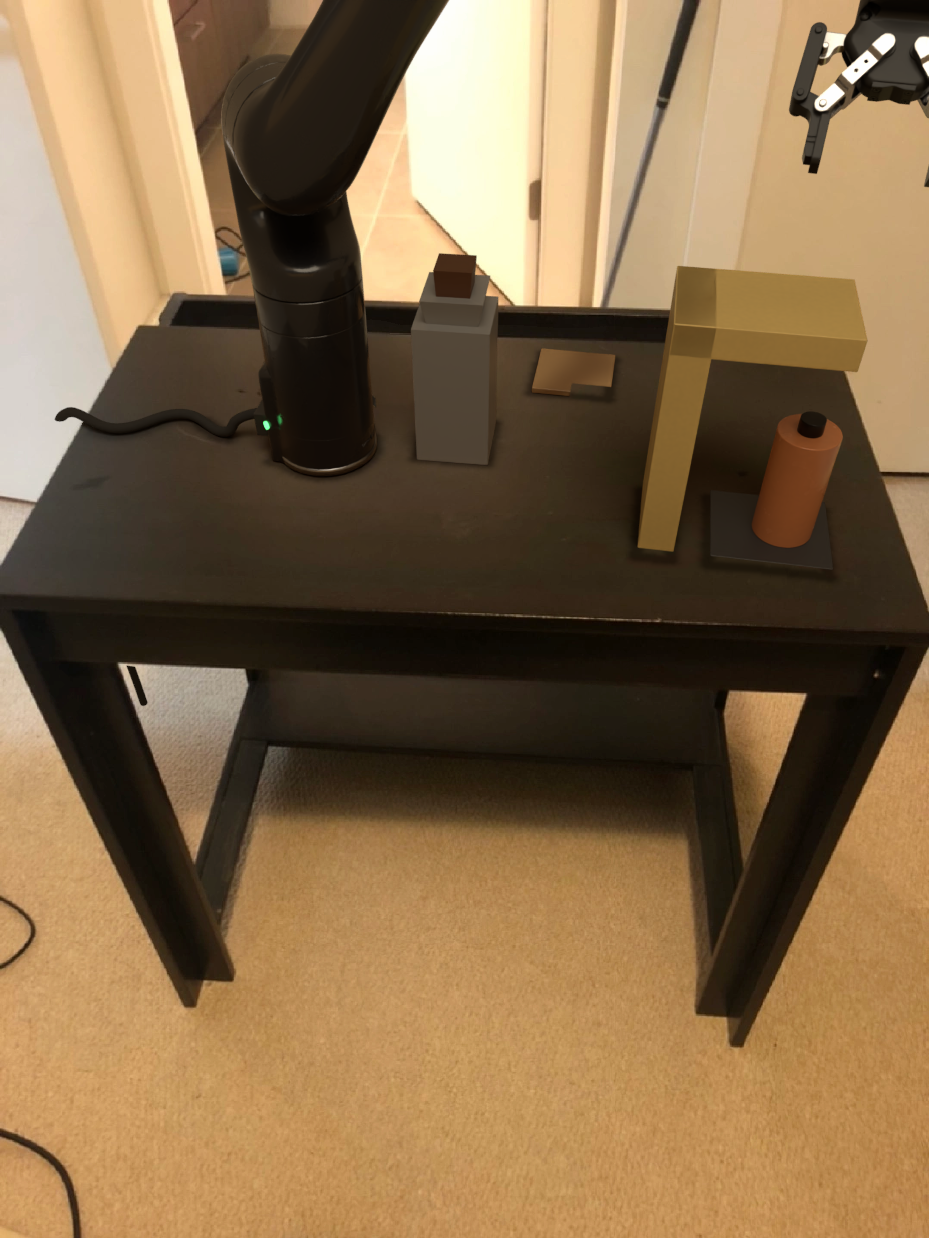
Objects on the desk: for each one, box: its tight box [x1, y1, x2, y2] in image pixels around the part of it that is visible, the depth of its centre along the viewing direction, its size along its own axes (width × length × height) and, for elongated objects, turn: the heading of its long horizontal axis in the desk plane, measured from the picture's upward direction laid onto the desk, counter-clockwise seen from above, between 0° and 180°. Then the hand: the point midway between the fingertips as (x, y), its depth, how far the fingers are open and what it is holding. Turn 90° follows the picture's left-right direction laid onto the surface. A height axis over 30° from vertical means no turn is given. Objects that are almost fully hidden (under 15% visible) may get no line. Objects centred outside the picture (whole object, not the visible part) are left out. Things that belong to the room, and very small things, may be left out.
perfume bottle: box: [410, 252, 499, 466], centre depth 89 cm, size 7×7×18 cm
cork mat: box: [531, 348, 616, 397], centre depth 103 cm, size 8×8×1 cm
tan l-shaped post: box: [637, 265, 868, 571], centre depth 78 cm, size 16×9×22 cm, turn 80°
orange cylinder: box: [752, 410, 844, 548], centre depth 80 cm, size 5×5×11 cm
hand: (871, 176), depth 74 cm, fingers open, 8 cm apart
